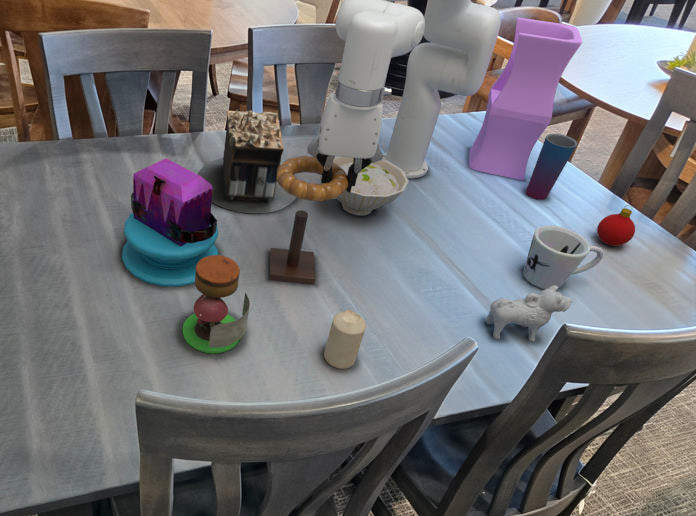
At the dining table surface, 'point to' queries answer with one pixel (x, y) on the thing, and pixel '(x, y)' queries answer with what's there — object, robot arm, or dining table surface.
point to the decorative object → (169, 225)
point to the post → (293, 257)
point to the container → (523, 97)
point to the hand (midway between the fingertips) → (337, 186)
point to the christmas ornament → (616, 228)
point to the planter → (249, 165)
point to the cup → (550, 165)
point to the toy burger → (215, 307)
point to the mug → (557, 256)
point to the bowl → (371, 186)
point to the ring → (309, 189)
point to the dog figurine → (527, 311)
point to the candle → (344, 339)
